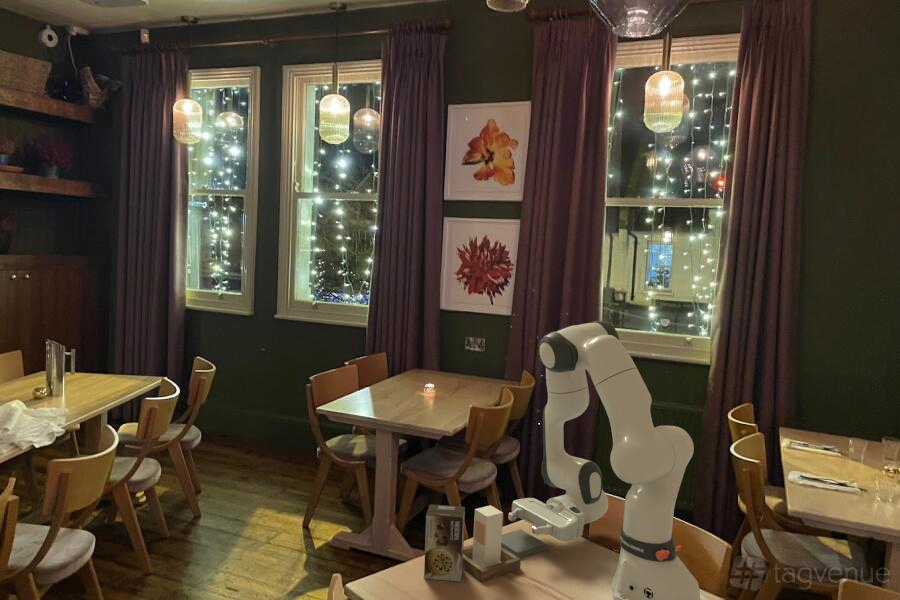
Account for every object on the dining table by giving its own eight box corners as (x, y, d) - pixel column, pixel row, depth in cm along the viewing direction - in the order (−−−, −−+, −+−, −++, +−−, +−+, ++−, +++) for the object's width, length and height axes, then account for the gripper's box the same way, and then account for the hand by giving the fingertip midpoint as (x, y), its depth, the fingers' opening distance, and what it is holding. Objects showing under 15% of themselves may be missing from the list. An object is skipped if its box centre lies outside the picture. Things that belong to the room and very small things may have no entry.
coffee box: (462, 569, 162) (466, 506, 160) (460, 582, 156) (464, 517, 154) (426, 565, 163) (429, 503, 161) (422, 578, 157) (425, 513, 155)
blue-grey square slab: (545, 549, 175) (545, 543, 175) (516, 558, 169) (517, 552, 169) (520, 534, 183) (520, 529, 183) (492, 542, 177) (492, 537, 177)
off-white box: (499, 566, 164) (503, 512, 163) (483, 571, 161) (486, 516, 160) (487, 557, 168) (490, 505, 167) (471, 562, 165) (474, 509, 164)
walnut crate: (520, 568, 164) (520, 559, 163) (481, 581, 156) (482, 571, 156) (489, 548, 173) (490, 539, 173) (452, 559, 166) (452, 550, 166)
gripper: (534, 489, 187) (497, 498, 179) (588, 516, 170) (549, 527, 162) (533, 510, 187) (495, 520, 179) (586, 539, 171) (547, 551, 163)
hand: (521, 524), depth 171 cm, fingers open, 8 cm apart
